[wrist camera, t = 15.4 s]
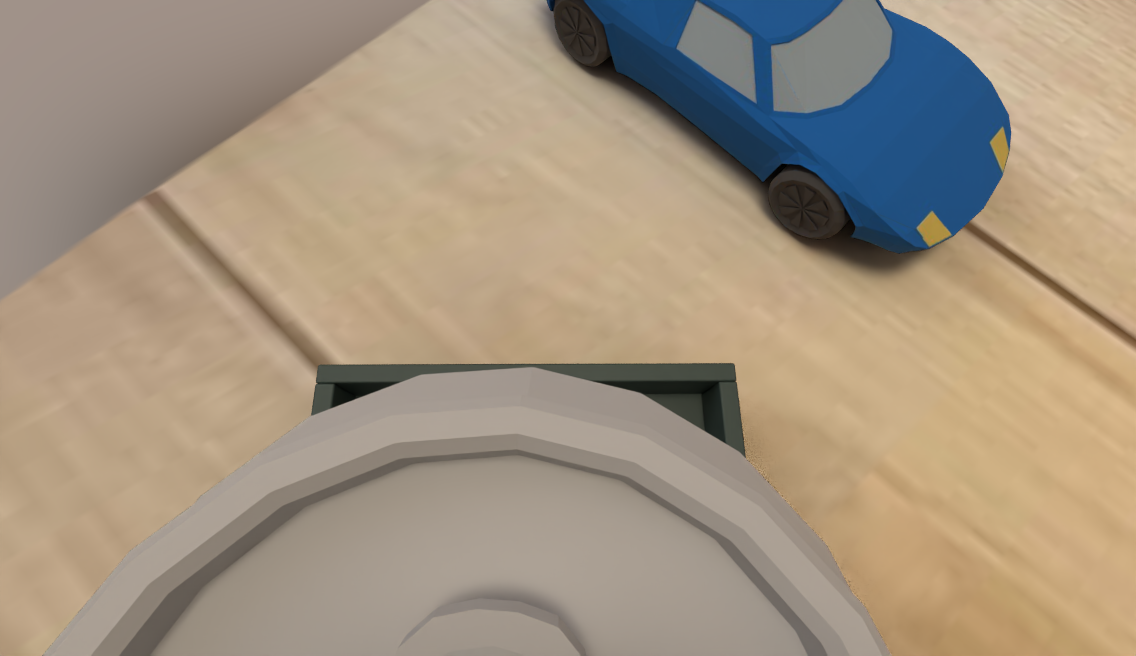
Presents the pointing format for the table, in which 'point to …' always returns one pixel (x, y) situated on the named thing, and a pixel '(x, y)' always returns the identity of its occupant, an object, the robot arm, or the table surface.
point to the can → (483, 539)
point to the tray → (678, 387)
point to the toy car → (817, 105)
